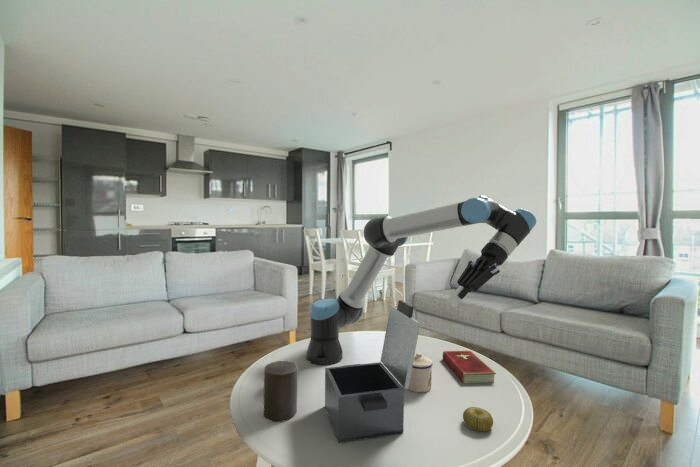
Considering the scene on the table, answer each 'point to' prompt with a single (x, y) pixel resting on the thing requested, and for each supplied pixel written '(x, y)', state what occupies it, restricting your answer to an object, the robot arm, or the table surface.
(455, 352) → the hardcover book
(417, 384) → the teacup with lid
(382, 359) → the lid
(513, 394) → the table surface
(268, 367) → the pillar candle
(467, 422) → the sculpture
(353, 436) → the grey storage box
